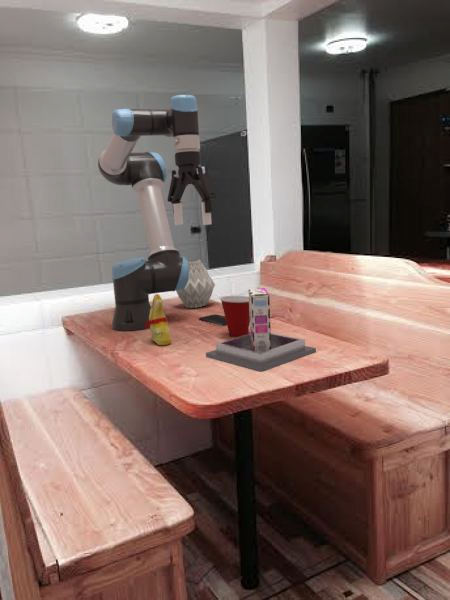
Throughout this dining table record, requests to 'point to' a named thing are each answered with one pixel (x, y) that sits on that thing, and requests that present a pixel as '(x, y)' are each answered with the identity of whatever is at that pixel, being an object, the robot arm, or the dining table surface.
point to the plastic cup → (236, 314)
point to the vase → (196, 286)
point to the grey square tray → (279, 353)
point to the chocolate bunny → (158, 322)
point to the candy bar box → (259, 319)
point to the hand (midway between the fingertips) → (192, 224)
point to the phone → (214, 319)
